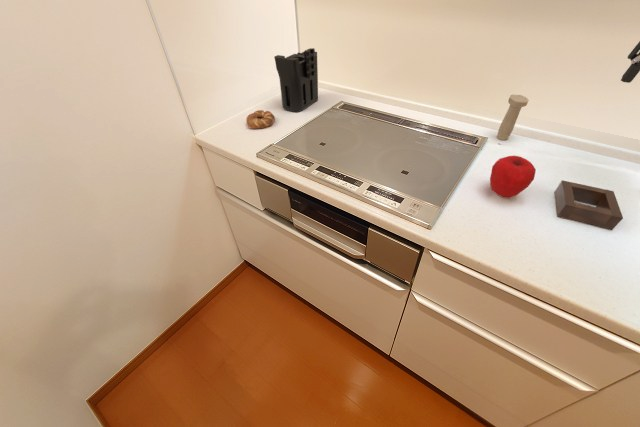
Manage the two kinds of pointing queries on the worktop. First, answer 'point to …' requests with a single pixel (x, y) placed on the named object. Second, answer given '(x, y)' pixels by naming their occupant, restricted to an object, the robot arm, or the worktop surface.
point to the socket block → (598, 216)
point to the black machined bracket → (298, 79)
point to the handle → (511, 116)
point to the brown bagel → (260, 119)
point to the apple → (511, 176)
